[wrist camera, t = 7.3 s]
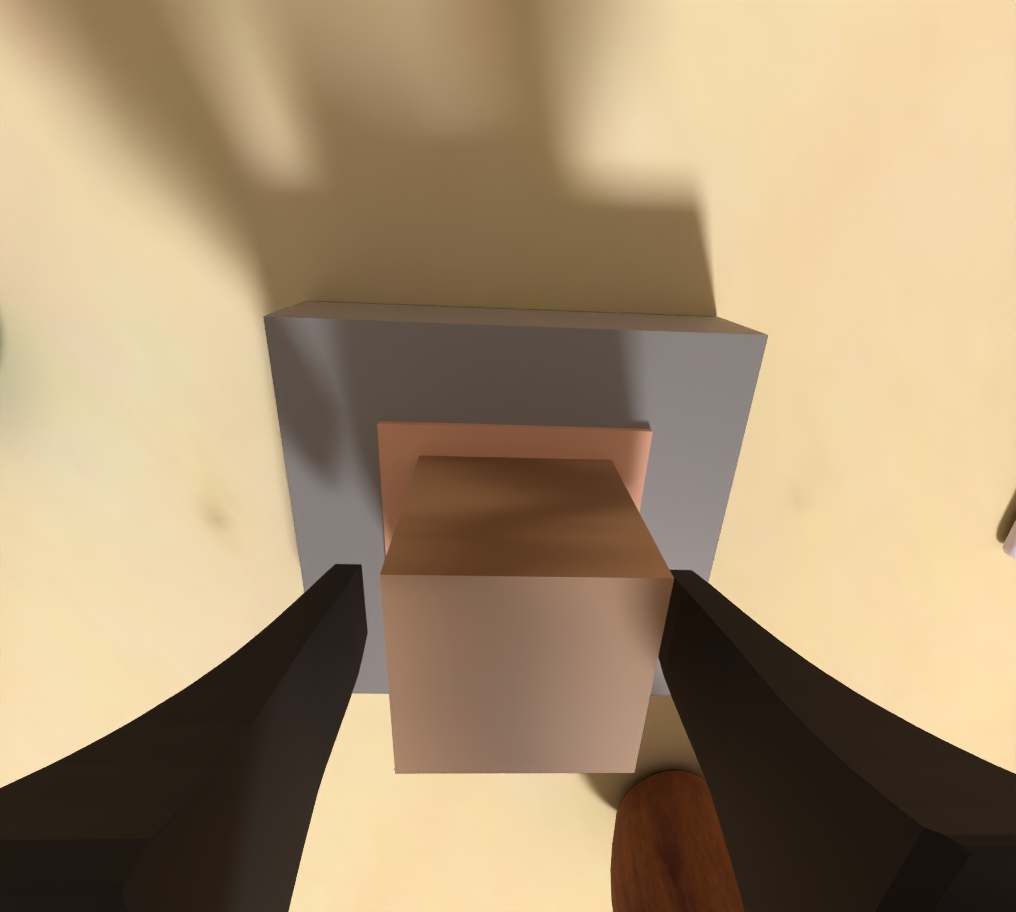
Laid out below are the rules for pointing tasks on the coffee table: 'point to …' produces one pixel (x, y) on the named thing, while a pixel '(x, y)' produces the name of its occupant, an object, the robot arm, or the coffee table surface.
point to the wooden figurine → (671, 849)
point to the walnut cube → (520, 618)
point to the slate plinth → (502, 419)
